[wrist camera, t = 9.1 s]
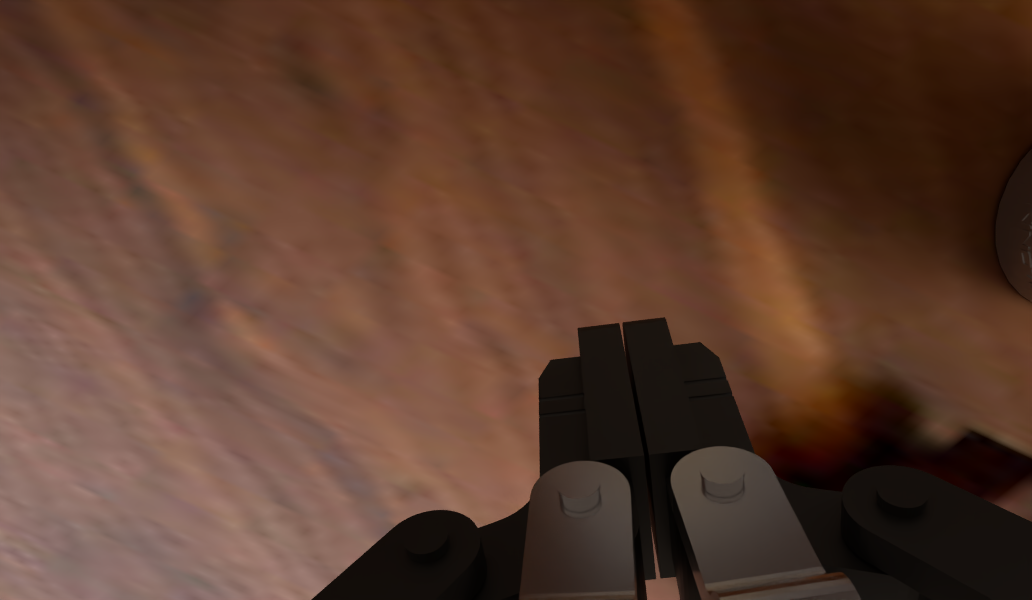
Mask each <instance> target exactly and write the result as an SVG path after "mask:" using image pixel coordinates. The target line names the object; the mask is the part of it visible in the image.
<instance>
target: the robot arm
mask: <svg viewBox="0 0 1032 600" xmlns="http://www.w3.org/2000/svg"><path fill="white" fill-rule="evenodd" d="M996 249H997V253H998V258H999V262H1000V265H1001V267H1002V269H1003V271H1004V273H1005V275H1006V277H1007V279H1008V281H1009V282H1010V284H1011V285H1012V286H1013V287H1014V288H1015V289H1016V290H1017V291H1018V292H1019V294H1020V295H1022V296H1023V297H1025V298H1026V299H1028V300H1029V301H1031V302H1032V149H1031V150H1030V151H1029V152H1028V153H1027V154H1026V156H1025V157H1024V158H1023V159H1022V160H1021V162H1020V163H1019V165H1018V166H1017V168H1016V170H1015V171H1014V173H1013V175H1012V176H1011V178H1010V179H1009V181H1008V183H1007V186H1006V188H1005V191H1004V194H1003V196H1002V199H1001V201H1000V204H999V210H998V215H997V220H996ZM623 336H624V346H625V351H624V346H623V340H622V335H621V330H620V325H619V323H615V324H607V325H599V326H591V327H582V328H578V338H579V348H580V357H572V358H564V359H555V360H550V362H549V363H548V365H547V366H546V368H545V370H544V371H543V373H542V374H541V376H540V377H539V417H540V418H539V442H540V478H539V479H538V481H537V482H536V483H535V484H534V486H533V489H532V491H531V495H530V501H529V502H528V503H527V504H526V505H525V506H524V507H522V508H521V509H520V510H518V511H517V512H516V513H514V514H512V515H510V516H508V517H506V518H504V519H502V520H499V521H496V522H494V523H491V524H488V525H485V526H483V527H480V528H477V526H476V525H475V523H474V522H473V521H472V520H471V519H470V518H468V517H466V516H465V515H463V514H460V513H458V512H454V511H449V510H433V511H428V512H423V513H420V514H417V515H414V516H412V517H409V518H407V519H406V520H404V521H402V522H401V523H399V524H398V525H396V526H395V527H394V528H393V529H392V530H390V531H389V532H388V533H387V534H386V535H385V536H384V537H382V538H381V539H380V540H379V541H378V542H377V543H376V544H374V545H373V546H372V547H371V548H370V549H369V550H368V551H366V552H365V553H364V554H363V555H362V556H361V557H360V558H358V559H357V560H356V561H355V562H354V563H353V564H352V565H350V566H349V567H348V568H347V569H346V570H345V571H344V572H342V573H341V574H340V575H339V576H338V577H337V578H336V579H334V580H333V581H332V582H331V583H330V584H329V585H328V586H326V587H325V588H324V589H323V590H322V591H321V592H320V593H318V594H317V595H316V596H315V597H314V598H313V599H312V600H647V594H646V585H645V580H650V579H656V573H655V563H654V553H653V542H652V533H653V539H654V544H655V550H656V555H657V561H658V567H659V572H660V578H669V577H676V579H677V584H678V589H679V594H680V600H1032V522H1031V521H1029V520H1026V519H1024V518H1022V517H1020V516H1018V515H1016V514H1014V513H1012V512H1009V511H1007V510H1005V509H1003V508H1001V507H999V506H997V505H995V504H992V503H990V502H988V501H986V500H984V499H982V498H980V497H978V496H975V495H973V494H971V493H969V492H967V491H965V490H963V489H961V488H958V487H956V486H954V485H952V484H950V483H948V482H946V481H944V480H941V479H939V478H937V477H935V476H933V475H931V474H928V473H926V472H923V471H920V470H917V469H913V468H909V467H903V466H892V465H891V466H877V467H871V468H868V469H864V470H862V471H860V472H858V473H856V474H855V475H853V476H852V477H851V478H850V479H849V480H848V481H847V482H846V484H845V485H844V487H843V491H842V492H838V491H830V490H822V489H814V488H808V487H803V486H799V485H796V484H792V483H790V482H787V481H785V480H782V479H781V478H779V477H777V476H775V474H774V472H773V470H772V469H771V467H770V466H769V465H768V464H767V463H766V462H765V461H764V460H763V459H762V458H760V457H759V456H757V455H755V453H754V450H753V447H752V445H751V442H750V439H749V437H748V434H747V431H746V429H745V426H744V423H743V421H742V418H741V415H740V413H739V410H738V407H737V404H736V402H735V399H734V396H732V391H731V388H730V386H729V383H728V380H726V375H725V372H724V370H723V367H722V364H721V362H720V359H719V357H718V356H716V355H715V354H714V353H713V352H712V351H710V350H709V349H708V348H707V347H705V346H704V345H703V344H702V343H700V342H698V343H689V344H681V345H673V343H672V339H671V336H670V332H669V329H668V325H667V322H666V319H665V317H664V318H655V319H647V320H639V321H631V322H623ZM625 355H626V356H625ZM651 527H652V532H651Z"/></svg>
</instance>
